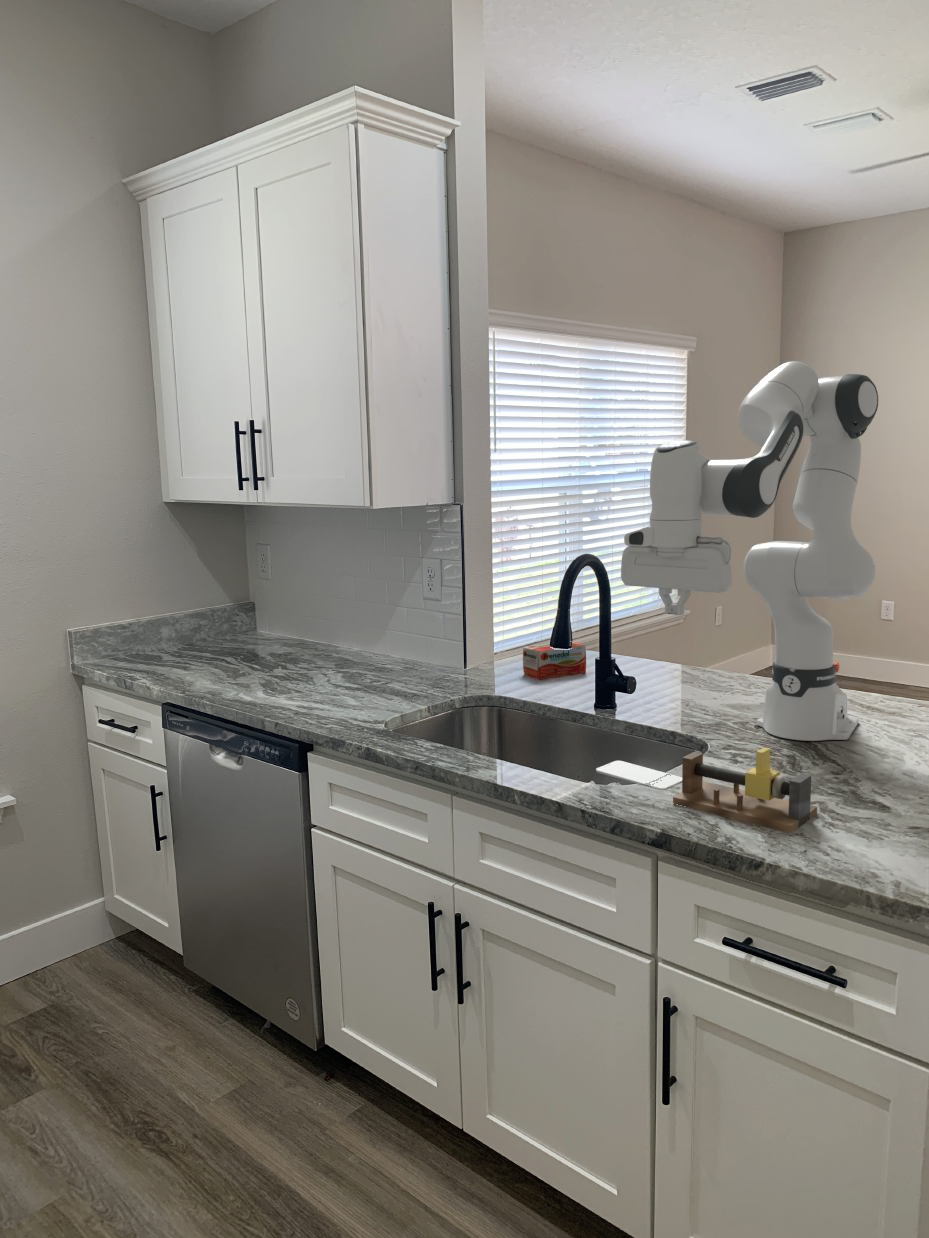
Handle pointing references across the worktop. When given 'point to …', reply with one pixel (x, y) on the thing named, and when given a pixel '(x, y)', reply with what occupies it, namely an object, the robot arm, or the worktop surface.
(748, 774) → the sleeve
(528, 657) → the medicine box
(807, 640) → the robot arm
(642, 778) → the smartphone
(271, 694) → the worktop surface
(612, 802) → the worktop surface
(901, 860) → the worktop surface
